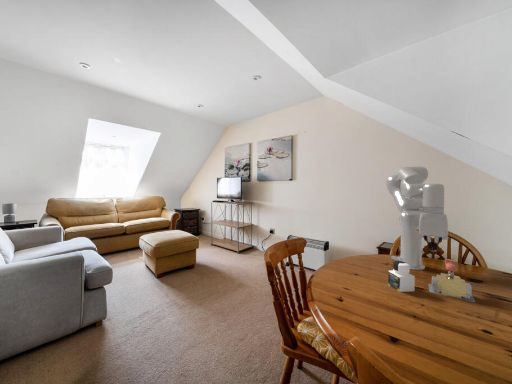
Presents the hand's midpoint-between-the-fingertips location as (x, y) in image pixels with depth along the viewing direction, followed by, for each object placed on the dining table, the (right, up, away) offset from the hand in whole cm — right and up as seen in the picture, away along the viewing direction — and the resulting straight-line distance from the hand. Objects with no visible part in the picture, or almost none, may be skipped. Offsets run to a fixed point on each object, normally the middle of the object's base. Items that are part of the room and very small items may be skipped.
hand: (432, 250), depth 97 cm
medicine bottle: (-16, -17, -2) cm, 23 cm away
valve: (+1, -16, -8) cm, 18 cm away
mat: (+2, -17, -7) cm, 18 cm away
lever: (+3, -6, -5) cm, 9 cm away
